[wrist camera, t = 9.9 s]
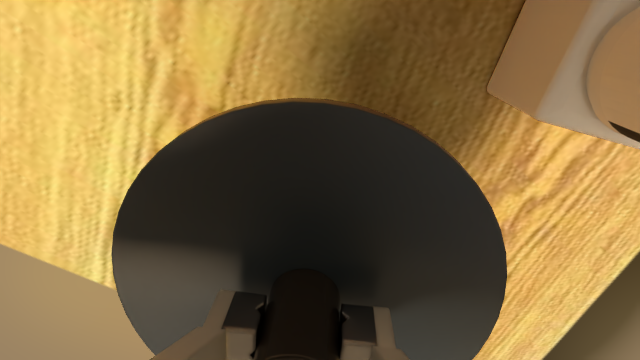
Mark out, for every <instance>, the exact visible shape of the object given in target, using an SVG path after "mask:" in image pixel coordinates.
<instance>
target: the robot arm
mask: <svg viewBox="0 0 640 360" xmlns="http://www.w3.org/2000/svg"><path fill="white" fill-rule="evenodd" d="M266 306H267V295H262V294H255V293H247V292H240V291H230V290H223V289H221V290H220V291H219V292H218V293H217V296H216V298H215V300H214V302H213V305H212V307H211V309H210V312H209V314H208V316H207V318H206V321H205V323H204V325H203V327H197V328H195V329H194V330H192V331H191V332H189V333H188V334H186V335H185V336H184V337H182V338H181V339H179V340H178V341H176V342H175V343H173V344H172V345H170V346H169V347H168V348H166V349H165V350H163V351H162V352H160V353H159V354H157V355H156V356H154V357H153V358H151V359H150V360H253V358H254V354H255V350H256V346H257V342H258V338H259V334H260V330H261V326H262V322H263V319H264V315H265V310H266ZM340 360H410V359H409V358H408V357H407V356H406V354H405V353H404V352H403V351H402V350H401V349H396V345H395V339H394V333H393V327H392V321H391V315H390V310H389V308H386V307H375V306H373V307H372V306H363V305H353V304H343V303H342V304H341V309H340Z"/></svg>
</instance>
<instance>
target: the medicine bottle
mask: <svg viewBox="0 0 640 360" xmlns="http://www.w3.org/2000/svg"><path fill="white" fill-rule="evenodd" d="M487 91H488V93H489V94H491V95H493V96H495V97H497V98H498V99H500V100H502V101H504V102H506V103H507V104H509V105H511V106H513V107H515V108H517V109H518V110H520V111H522V112H524V113H526V114H527V115H529V116H531V117H533V118H535V119H537V120H538V121H542V122H545V123H549V124H552V125H556V126H559V127H563V128H566V129H570V130H573V131H577V132H580V133H584V134H587V135H591V136H594V137H598V138H602V139H605V140H609V141H612V142H616V143H619V144H623V145H626V146H630V147H633V148H637V149H640V0H526V1H525V3H524V6H523V8H522V10H521V12H520V14H519V17H518V19H517V21H516V23H515V26H514V28H513V30H512V32H511V35H510V37H509V39H508V41H507V43H506V46H505V48H504V50H503V52H502V55H501V57H500V59H499V61H498V64H497V66H496V68H495V70H494V72H493V75H492V77H491V79H490V81H489V84H488V86H487Z"/></svg>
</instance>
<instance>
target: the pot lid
mask: <svg viewBox="0 0 640 360" xmlns="http://www.w3.org/2000/svg"><path fill="white" fill-rule="evenodd" d="M112 264H113V275H114V279H115V283H116V288H117V292H118V295H119V297H120V300H121V303H122V305H123V308H124V310H125V313H126V315H127V316H128V318H129V320H130V322H131V324H132V325H133V327H134V328H135V331H136V332H137V333H138V335H139V336H140V337H141V339H142V340H143V341H144V342H145V344H146V345H147V347H148V348H149V349H150V350H151V351H152V352H153V353H154V354H155V355H157V354H159V353H160V352H162V351H163V350H165V349H166V348H168V347H169V346H170V345H172V344H173V343H175V342H176V341H178V340H179V339H181V338H182V337H184V336H185V335H186V334H188V333H189V332H191V331H192V330H194V329H195V328H197V327H203V325H204V323H205V321H206V318H207V316H208V314H209V312H210V309H211V307H212V305H213V302H214V300H215V298H216V296H217V293H218V292H219V291H220V290H221V289H223V290H230V291H240V292H247V293H255V294H262V295H267V306H266V310H265V315H264V319H263V322H262V326H261V330H260V334H259V338H258V342H257V346H256V350H255V354H254V358H253V360H340V309H341V304H342V303H343V304H353V305H363V306H372V307H373V306H375V307H386V308H389V310H390V315H391V321H392V327H393V333H394V339H395V345H396V349H401V350H402V351H403V352H404V353H405V354H406V356H407V357H408V358H409V359H410V360H472V359H473V358H474V357H475V356H476V355H477V354H478V353H479V351H480V350H481V348H482V347H483V345H484V344H485V342H486V341H487V339H488V338H489V336H490V334H491V332H492V330H493V328H494V326H495V324H496V321H497V319H498V317H499V314H500V310H501V307H502V304H503V300H504V296H505V288H506V280H507V264H506V251H505V246H504V242H503V237H502V233H501V229H500V227H499V224H498V222H497V219H496V217H495V214H494V212H493V209H492V207H491V206H490V204H489V202H488V201H487V199H486V197H485V196H484V194H483V192H482V191H481V189H480V187H479V186H478V185H477V183H476V182H475V181H474V180H473V178H472V177H471V176H470V175H469V174H468V173H467V171H466V170H465V169H464V168H463V167H462V165H461V164H460V163H459V162H458V161H457V160H456V159H455V158H454V157H453V156H452V155H451V154H449V153H448V152H447V151H446V150H445V149H444V148H443V147H441V146H440V145H439V144H438V143H437V142H436V141H434V140H433V139H431V138H429V137H428V136H426V135H425V134H423V133H422V132H420V131H419V130H417V129H416V128H414V127H412V126H411V125H408V124H406V123H404V122H402V121H400V120H398V119H396V118H393V117H391V116H389V115H387V114H385V113H382V112H379V111H375V110H372V109H369V108H366V107H363V106H359V105H356V104H351V103H345V102H339V101H333V100H328V99H310V98H288V99H277V100H266V101H261V102H256V103H252V104H248V105H243V106H239V107H235V108H232V109H230V110H227V111H225V112H222V113H219V114H217V115H214V116H212V117H209V118H207V119H205V120H204V121H202V122H200V123H198V124H196V125H195V126H193V127H191V128H189V129H188V130H186V131H184V132H183V133H182V134H180V135H179V136H178V137H176V138H175V139H174V140H173V141H171V142H170V143H169V144H167V145H166V146H165V147H164V148H162V149H161V150H160V151H159V152H158V153H157V154H156V155H155V156H154V157H153V158H152V159H151V160H150V161H149V162H148V163H147V164H146V165H145V167H144V168H143V169H142V170H141V171H140V173H139V174H138V176H137V177H136V179H135V180H134V182H133V183H132V185H131V186H130V188H129V189H128V191H127V194H126V196H125V198H124V200H123V203H122V205H121V207H120V209H119V212H118V216H117V220H116V224H115V228H114V232H113V244H112Z"/></svg>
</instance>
